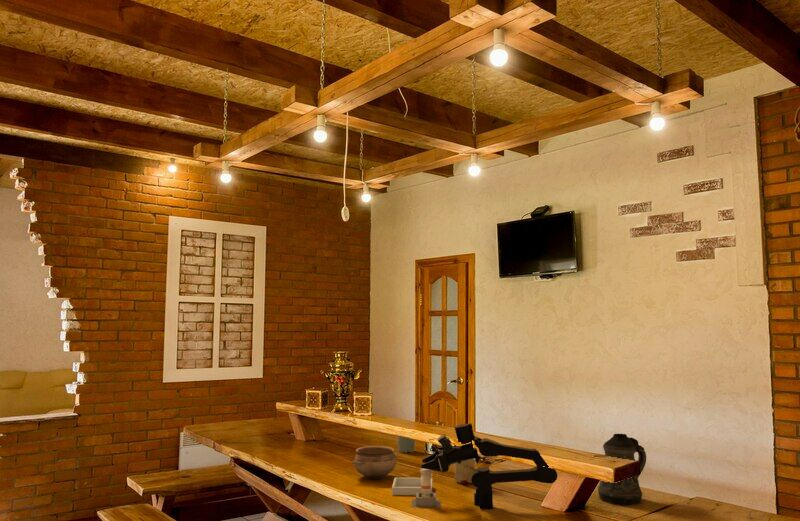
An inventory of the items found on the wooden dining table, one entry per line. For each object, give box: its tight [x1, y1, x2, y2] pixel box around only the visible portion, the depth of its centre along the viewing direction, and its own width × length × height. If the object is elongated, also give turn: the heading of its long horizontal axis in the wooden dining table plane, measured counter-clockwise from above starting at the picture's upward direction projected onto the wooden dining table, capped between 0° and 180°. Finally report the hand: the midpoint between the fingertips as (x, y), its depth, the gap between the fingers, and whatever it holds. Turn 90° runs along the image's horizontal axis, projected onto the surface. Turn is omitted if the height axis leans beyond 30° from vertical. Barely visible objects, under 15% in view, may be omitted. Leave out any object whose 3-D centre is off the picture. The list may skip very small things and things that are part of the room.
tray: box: [391, 477, 433, 496], centre depth 257 cm, size 16×16×4 cm
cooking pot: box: [351, 445, 398, 480], centre depth 281 cm, size 25×19×12 cm
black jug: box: [597, 433, 647, 506], centre depth 247 cm, size 16×19×25 cm
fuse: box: [419, 468, 432, 497], centre depth 238 cm, size 4×4×12 cm
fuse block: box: [410, 491, 442, 509], centre depth 238 cm, size 11×10×5 cm
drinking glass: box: [397, 435, 416, 453], centre depth 337 cm, size 10×10×12 cm
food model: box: [453, 436, 476, 485], centre depth 271 cm, size 10×7×20 cm
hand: (421, 463), depth 239 cm, fingers open, 9 cm apart
